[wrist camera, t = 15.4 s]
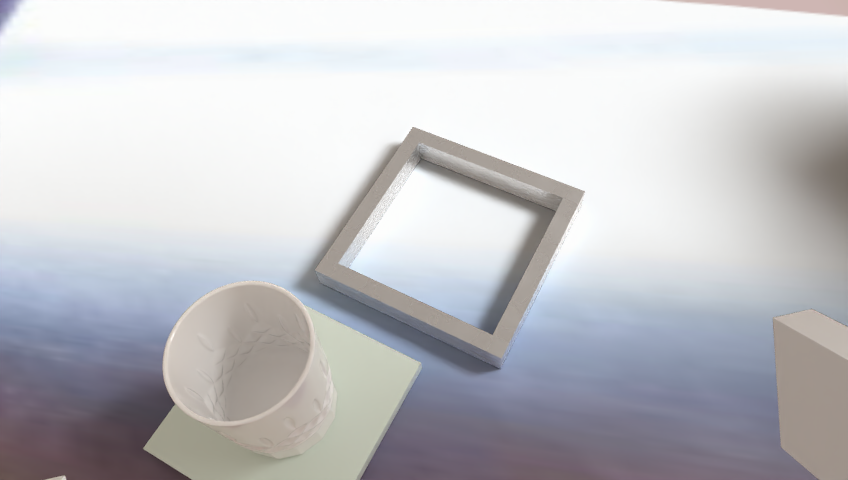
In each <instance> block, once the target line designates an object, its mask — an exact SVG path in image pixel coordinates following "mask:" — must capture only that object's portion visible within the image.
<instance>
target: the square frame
mask: <svg viewBox="0 0 848 480" xmlns="http://www.w3.org/2000/svg"><path fill="white" fill-rule="evenodd" d="M420 159H424V160H426V161H429V162H431V163H434V164H437V165H439V166H442V167H444V168H447V169H449V170H452V171H454V172H457V173H460V174H462V175H465V176H467V177H470V178H472V179H475V180H478V181H480V182H483V183H485V184H488V185H490V186H493V187H495V188H498V189H501V190H503V191H506V192H508V193H511V194H513V195H516V196H518V197H521V198H524V199H526V200H529V201H531V202H534V203H536V204H539V205H542V206H544V207H547V208H549V209H552V210H554V211H556V213H555V215H554V217H553V219H552V221H551V223H550V225H549V226H548V228H547V230H546V232H545V234H544V236H543V238H542V240H541V242H540V244H539V246H538V248H537V250H536V252H535V254H534V256H533V257H532V259H531V261H530V263H529V265H528V267H527V269H526V271H525V273H524V275H523V277H522V279H521V281H520V283H519V285H518V287H517V289H516V290H515V292H514V294H513V296H512V298H511V300H510V302H509V304H508V306H507V308H506V310H505V312H504V314H503V316H502V318H501V320H500V321H499V323H498V325H497V327H496V329H495V331H494V333H493V335H491V334H489V333H487V332H485V331H483V330H481V329H478V328H476V327H474V326H472V325H470V324H468V323H466V322H463V321H461V320H459V319H457V318H455V317H453V316H450V315H448V314H446V313H444V312H442V311H440V310H437V309H435V308H433V307H431V306H429V305H427V304H425V303H422V302H420V301H418V300H416V299H414V298H412V297H409V296H407V295H405V294H403V293H401V292H399V291H397V290H394V289H392V288H390V287H388V286H386V285H384V284H381V283H379V282H377V281H375V280H373V279H371V278H368V277H366V276H364V275H362V274H360V273H358V272H356V271H353V270H351V269H349V266H350V265H351V263H352V262H353V260H354V259H355V257H356V256H357V254H358V253H359V251H360V250H361V248H362V247H363V245H364V244H365V242H366V241H367V239H368V238H369V236H370V235H371V233H372V232H373V230H374V229H375V227H376V226H377V224H378V223H379V221H380V220H381V218H382V217H383V215H384V214H385V212H386V211H387V209H388V208H389V206H390V204H391V203H392V201H393V200H394V198H395V197H396V195H397V194H398V192H399V191H400V189H401V188H402V186H403V185H404V183H405V182H406V180H407V179H408V177H409V176H410V174H411V173H412V171H413V170H414V168H415V167H416V165H417V164H418V162H419V161H420ZM584 193H585V191H582V190H580V189H577V188H574V187H572V186H569V185H566V184H564V183H561V182H558V181H556V180H553V179H550V178H548V177H545V176H542V175H540V174H537V173H534V172H532V171H529V170H526V169H524V168H521V167H518V166H516V165H513V164H510V163H508V162H505V161H502V160H500V159H497V158H495V157H492V156H489V155H487V154H484V153H481V152H479V151H476V150H473V149H471V148H468V147H465V146H463V145H460V144H457V143H455V142H452V141H449V140H447V139H444V138H441V137H439V136H436V135H433V134H431V133H428V132H425V131H423V130H420V129H417V128H415V127H413V128H412V129H411V131H410V132H409V134H408V135H407V137H406V138H405V140H404V141H403V142H402V144H401V145H400V147H399V148H398V150H397V151H396V153H395V154H394V156H393V157H392V158H391V160H390V161H389V163H388V164H387V166H386V167H385V169H384V170H383V172H382V173H381V174H380V176H379V177H378V179H377V180H376V182H375V183H374V185H373V186H372V188H371V189H370V190H369V192H368V193H367V195H366V196H365V198H364V199H363V201H362V202H361V203H360V205H359V206H358V208H357V209H356V211H355V212H354V214H353V215H352V217H351V218H350V219H349V221H348V222H347V224H346V225H345V227H344V228H343V230H342V231H341V233H340V234H339V235H338V237H337V238H336V240H335V241H334V243H333V244H332V246H331V247H330V249H329V250H328V251H327V253H326V254H325V256H324V257H323V259H322V260H321V262H320V263H319V265H318V266H317V267H316V269H315V272H316V274H317V277H318V279H319V281H320V283H321V284H323V285H326V286H328V287H330V288H332V289H334V290H336V291H338V292H340V293H342V294H344V295H346V296H349V297H351V298H353V299H355V300H357V301H359V302H361V303H363V304H365V305H367V306H369V307H371V308H374V309H376V310H378V311H380V312H382V313H384V314H386V315H388V316H390V317H392V318H394V319H397V320H399V321H401V322H403V323H405V324H407V325H409V326H411V327H413V328H415V329H417V330H420V331H422V332H424V333H426V334H428V335H430V336H432V337H434V338H436V339H438V340H440V341H442V342H445V343H447V344H449V345H451V346H453V347H455V348H457V349H459V350H461V351H463V352H465V353H468V354H470V355H472V356H474V357H476V358H478V359H480V360H482V361H484V362H486V363H488V364H491V365H493V366H495V367H497V368H499V369H501V367H502V365H503V363H504V361H505V359H506V357H507V355H508V353H509V351H510V349H511V347H512V345H513V343H514V341H515V339H516V337H517V335H518V333H519V331H520V329H521V327H522V325H523V323H524V321H525V319H526V317H527V315H528V313H529V311H530V309H531V307H532V305H533V303H534V301H535V299H536V297H537V295H538V293H539V291H540V289H541V287H542V285H543V282H544V280H545V278H546V276H547V274H548V272H549V270H550V268H551V266H552V264H553V262H554V260H555V258H556V256H557V254H558V252H559V250H560V248H561V246H562V244H563V242H564V240H565V238H566V236H567V234H568V232H569V230H570V228H571V226H572V224H573V222H574V220H575V218H576V216H577V214H578V212H579V210H580V208H581V205H582V201H583V197H584Z"/></svg>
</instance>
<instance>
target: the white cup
mask: <svg viewBox="0 0 848 480" xmlns="http://www.w3.org/2000/svg"><path fill="white" fill-rule="evenodd" d="M163 377H164V381H165V385H166V388H167V390H168V393H169V395H170V396H171V398H172V400H173V401H174V402H175V404H176V405H177V406H178V407H179V408H180V409H181V410H182V411H183V412H184V413H186V414H187V415H188V416H190V417H191V418H193V419H195V420H197V421H198V422H200V423H202V424H203V425H205V426H207V427H208V428H210V429H211V430H213V431H215V432H216V433H218V434H220V435H221V436H223V437H225V438H226V439H228V440H231V441H233V442H234V443H236V444H238V445H240V446H242V447H244V448H246V449H249V450H251V451H252V452H254V453H256V454H260V455H264V456H267V457H271V458H275V459H282V458H286V457H291V456H296V455H300V454H303V453H304V452H306V451H307V450H308V449H310V448H311V447H312V446H314V445H315V444H317V443H318V442H319V441H321V440H322V439H323V438H324V436H325V434H326V432H327V431H328V429H329V427H330V425H331V424H332V422H333V420H334V419H335V414H336V404H337V391H336V388H335V386H334V383H333V380H332V374H331V369H330V367H329V364H328V360H327V357H326V355H325V353H324V350H323V348H322V345H321V342H320V340H319V338H318V335H317V333H316V330H315V328H314V325H313V323H312V320H311V317H310V315H309V313H308V311H307V310H306V308H305V307H304V305H303V304H302V303H301V302H300V300H299V299H298V298H297V297H295V296H294V295H293V294H292V293H290V292H289V291H287V290H286V289H284V288H282V287H280V286H277V285H274V284H271V283H267V282H261V281H242V282H236V283H231V284H228V285H225V286H222V287H219V288H217V289H215V290H213V291H211V292H209V293H207V294H206V295H204V296H202V297H201V298H200V299H198V300H197V301H196V302H194V303H193V304H192V305H191V306H190V307H189V308H188V309H187V310H186V311H185V312H184V313H183V314H182V316H181V317H180V318H179V320H178V321H177V322H176V324H175V326H174V327H173V329H172V331H171V333H170V335H169V337H168V340H167V343H166V346H165V350H164V355H163Z"/></svg>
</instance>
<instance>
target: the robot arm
mask: <svg viewBox="0 0 848 480" xmlns="http://www.w3.org/2000/svg"><path fill="white" fill-rule="evenodd" d="M773 329H774V345H775V361H776V376H777V392H778V408H779V424H780V440H781V448H783V449H784V450H785V451H786V452H787V453H788V454H790V455H791V456H792V457H793V458H794V459H795V460H797V461H798V462H799V463H800V464H801V465H802V466H803V467H805V468H806V469H807V470H808V471H809V472H810V473H812V474H813V475H814V476H815V477H816V478H817V479H819V480H848V327H847V326H845V325H843V324H841V323H839V322H837V321H835V320H833V319H831V318H829V317H827V316H825V315H823V314H821V313H819V312H817V311H815V310H813V309H809V310H805V311H800V312H796V313H791V314H787V315H782V316H778V317H773ZM46 480H66V477H65V475H64V476H59V477H55V478H50V479H46Z"/></svg>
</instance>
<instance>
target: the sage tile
mask: <svg viewBox="0 0 848 480" xmlns="http://www.w3.org/2000/svg"><path fill="white" fill-rule="evenodd" d="M304 307H305V308H306V310H307V311H308V313H309V315H310V317H311V320H312V323H313V325H314V328H315V330H316V333H317V335H318V338H319V340H320V342H321V345H322V348H323V350H324V353H325V355H326V357H327V360H328V364H329V367H330V369H331V374H332V380H333V383H334V386H335V388H336V391H337V404H336V414H335V419H334V420H333V422H332V424H331V425H330V427H329V429H328V431H327V432H326V434H325V436H324V438H323V439H322V440H321V441H319V442H318V443H317V444H315V445H314V446H312V447H311V448H310V449H308V450H307V451H306V452H304V453H303V454H300V455H296V456H291V457H286V458H282V459H275V458H271V457H267V456H264V455H260V454H256V453H254V452H252V451H251V450H249V449H246V448H244V447H242V446H240V445H238V444H236V443H234V442H233V441H231V440H228V439H226V438H225V437H223V436H221V435H220V434H218V433H216V432H215V431H213V430H211V429H210V428H208V427H207V426H205V425H203V424H202V423H200V422H198V421H197V420H195V419H193V418H191V417H190V416H188V415H187V414H186V413H184V412H183V411H182V410H181V409H180V408H179V407H178V406H177V405H176V404H175V405H174V406H173V408H172V409H171V411H170V412H169V413H168V415H167V416H166V417H165V419H164V420H163V422H162V423H161V424H160V426H159V427H158V429H157V430H156V431H155V433H154V434H153V435H152V437H151V438H150V440H149V441H148V442H147V444H146V445H145V447H144V448H143V449H144V450H146V451H147V452H149V453H150V454H152V455H154V456H155V457H157V458H158V459H160V460H162V461H163V462H165V463H166V464H168V465H170V466H171V467H173V468H174V469H176V470H178V471H179V472H181V473H182V474H184V475H185V476H187V477H189V478H190V479H192V480H360V479H361V477H362V475H363V473H364V471H365V470H366V468H367V466H368V464H369V462H370V461H371V459H372V457H373V455H374V453H375V452H376V450H377V448H378V446H379V444H380V443H381V441H382V439H383V437H384V435H385V434H386V432H387V430H388V428H389V426H390V425H391V423H392V421H393V419H394V417H395V416H396V414H397V412H398V410H399V408H400V407H401V405H402V403H403V401H404V400H405V398H406V396H407V394H408V392H409V391H410V389H411V387H412V385H413V383H414V382H415V380H416V378H417V376H418V374H419V373H420V371H421V369H422V365H421V363H420V362H418V361H416V360H414V359H412V358H410V357H408V356H406V355H404V354H402V353H400V352H398V351H396V350H394V349H392V348H390V347H388V346H386V345H384V344H382V343H380V342H378V341H376V340H374V339H372V338H370V337H368V336H366V335H364V334H362V333H360V332H358V331H356V330H354V329H352V328H350V327H348V326H346V325H344V324H342V323H340V322H338V321H335V320H333V319H331V318H329V317H327V316H325V315H323V314H321V313H319V312H317V311H315V310H313V309H311V308H309V307H307V306H305V305H304Z"/></svg>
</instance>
